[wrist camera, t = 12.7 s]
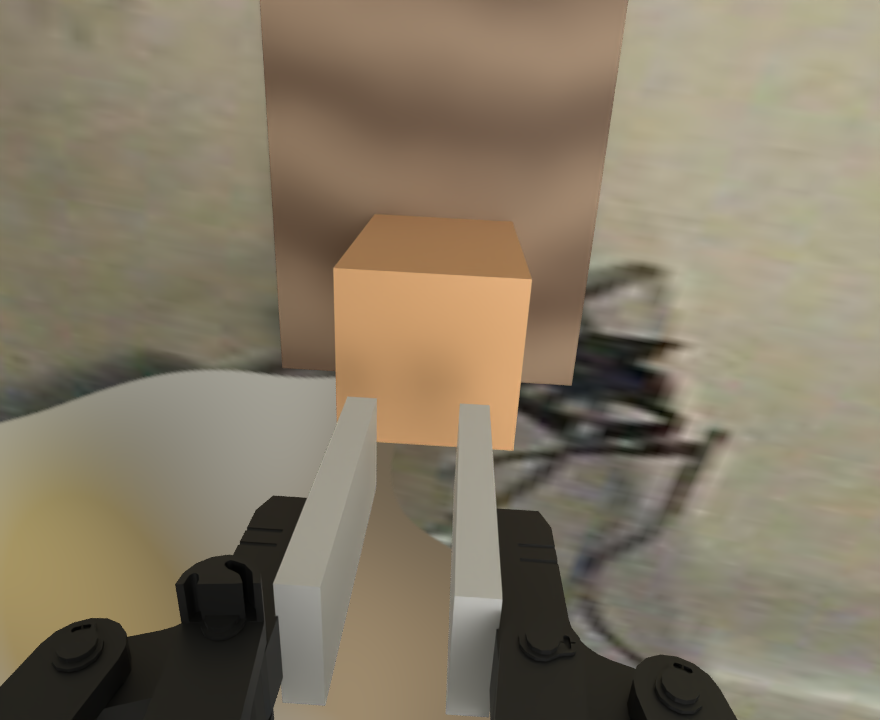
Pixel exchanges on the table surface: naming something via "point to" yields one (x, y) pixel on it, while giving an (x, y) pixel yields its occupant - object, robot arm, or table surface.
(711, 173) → the table surface
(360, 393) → the upright tan block
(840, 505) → the table surface
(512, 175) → the walnut board
